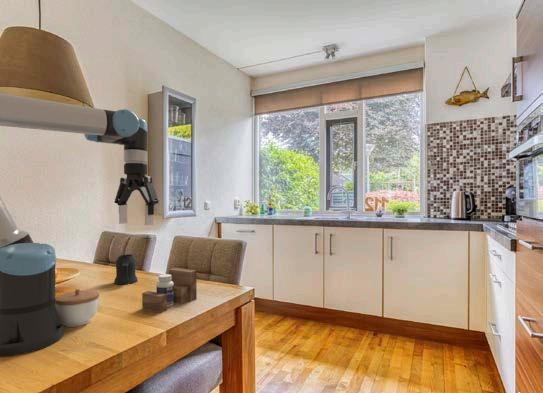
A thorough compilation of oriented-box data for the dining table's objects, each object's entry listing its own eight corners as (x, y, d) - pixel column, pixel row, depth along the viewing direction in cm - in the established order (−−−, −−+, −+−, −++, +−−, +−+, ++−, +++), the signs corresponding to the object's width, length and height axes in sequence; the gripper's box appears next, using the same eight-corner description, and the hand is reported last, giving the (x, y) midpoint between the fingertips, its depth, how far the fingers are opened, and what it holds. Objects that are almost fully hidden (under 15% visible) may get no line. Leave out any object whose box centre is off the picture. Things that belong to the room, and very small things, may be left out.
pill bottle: (168, 308, 100) (168, 277, 100) (153, 307, 101) (153, 277, 102) (176, 303, 106) (176, 273, 106) (162, 302, 107) (162, 273, 107)
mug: (114, 280, 136) (114, 254, 136) (137, 278, 139) (137, 253, 139) (112, 287, 124) (112, 259, 125) (137, 285, 128) (137, 257, 128)
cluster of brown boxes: (162, 313, 96) (162, 280, 96) (140, 308, 101) (140, 276, 101) (196, 299, 110) (196, 270, 110) (175, 295, 114) (174, 267, 114)
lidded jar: (104, 322, 89) (104, 289, 89) (59, 334, 82) (59, 297, 82) (92, 313, 97) (92, 282, 97) (50, 323, 89) (50, 289, 89)
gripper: (169, 162, 108) (169, 224, 107) (122, 166, 120) (122, 222, 120) (151, 159, 101) (151, 226, 101) (103, 164, 113) (103, 223, 113)
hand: (135, 224), depth 110 cm, fingers open, 13 cm apart
